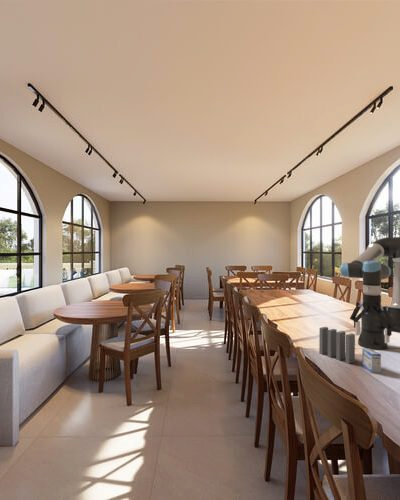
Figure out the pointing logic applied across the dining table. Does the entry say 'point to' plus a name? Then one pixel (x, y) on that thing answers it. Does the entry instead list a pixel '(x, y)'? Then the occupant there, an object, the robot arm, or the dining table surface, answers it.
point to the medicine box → (371, 360)
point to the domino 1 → (323, 340)
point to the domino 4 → (350, 348)
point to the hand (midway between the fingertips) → (371, 338)
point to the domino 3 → (340, 345)
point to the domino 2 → (332, 342)
